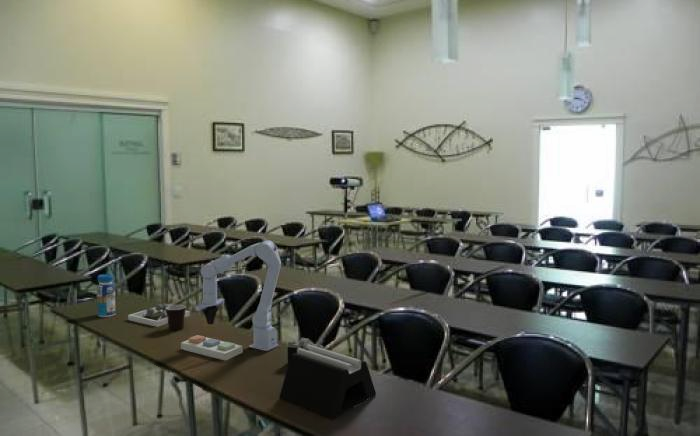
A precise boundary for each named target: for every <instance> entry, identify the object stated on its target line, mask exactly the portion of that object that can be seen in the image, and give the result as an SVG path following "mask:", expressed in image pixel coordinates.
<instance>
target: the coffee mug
mask: <svg viewBox="0 0 700 436" xmlns="http://www.w3.org/2000/svg"><path fill="white" fill-rule="evenodd" d="M186 308H187V307H186V305H183V304H174V305H173V304H172V306H168V307H166V313H167V316H166V318H167V319H168V323H167V324H168V330H169V331H170V332H178V331H182V330H184V329H185V328H184V327H185V310H186ZM183 328H184V329H183Z"/></svg>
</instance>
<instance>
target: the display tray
mask: <svg viewBox="0 0 700 436" xmlns="http://www.w3.org/2000/svg"><path fill="white" fill-rule="evenodd" d="M152 308H153V309H154V308H156V306H155V307H152ZM154 311H155V312H154V313H153V314H156V313H161V311H157V310H156V309H155V310H154ZM162 311H165V310H162ZM146 312H147V309H144V310H141V311H138V312H134V313H130V314H127V320H128V321H131V322H135V323H139V324H144V325H148V326H151V327H152V326H153V327H156V328H157V327H160V326H165V325H167V324H168V319H167V317H165V318H161V319H160V320H158V319H157V320H155V319H150V318H146V317H147V316H146V314H145V315H144V316H143V315H142V313H146ZM165 312H166V311H165ZM190 314H191V312H190V310H186V309H185V317H186V318H188V316H189V317H190V316H191V315H190Z"/></svg>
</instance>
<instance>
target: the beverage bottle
mask: <svg viewBox="0 0 700 436" xmlns="http://www.w3.org/2000/svg"><path fill="white" fill-rule="evenodd" d="M113 281H114V276H113V274H112V273H105V274H104V273H103V274H98V275H97V282H98V283H99V284H98V285H97V287H96V291H97V292H96V297H97V316H98V317H100V318H108V317H110V318H111V317H113V316H115V315H116V313H117V311H116V288H115V285H114V283H113Z"/></svg>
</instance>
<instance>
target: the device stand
mask: <svg viewBox="0 0 700 436" xmlns="http://www.w3.org/2000/svg"><path fill="white" fill-rule="evenodd" d="M307 348H308V349H309V351H308V350H304V349H301V348H298V349H297V354H296V353H293V354H292V355H291V358H290V361H289V365H288V364H287V365H288V366H287V369H286V373H285V376H284V378H283V381H282V386H281V389H280V392H279V393H280V394H279V399H280V400H282V399H283V400H282V401H286V402H287V401H288V403H290V404H293V405H294V404H295V406H297V407H299V406H300V408H302V407H303V408H302V409H304V408H305V409H304V410H307V411H309V410H310V412H311V411H312V413H314V412H315V413H314V414H316V413H317V414H316V415H319V414H320V415H319V416H321V415H322V416H321V417H323V418H326V417H327V418H326V419H328V418H329V420H331V419H332V420H334V419H336V418H337V417H336V416H338V415H340V416H341V415H343V414H345V413H347V412H348V410H349V409H351V408H352V409H354V408H355V407H354V406H356V405H358V404H360V403H362V402H363V403H365V402H367V401H368V400H367V399H369V398H371V397H372V398H374V397H376V396H377V395H376V394H377V392H376V389H375V387H374V383H373V379H372V376H371V373H370V369H369V367H368V364H367V361H364V360H361V359H359V358H354V357H350V356H348V355H344V354H341V353H339V352H335V351H332V350H328V349H325V348H324V349H322V348H319V347H316V346H312V345H309V344H308V345H307ZM375 395H376V396H375ZM373 396H374V397H373ZM372 398H371V399H372ZM366 400H367V401H366ZM369 400H370V399H369ZM364 401H365V402H364ZM363 403H362V404H363ZM360 405H361V404H360ZM358 406H359V405H358ZM353 407H354V408H353ZM356 407H357V406H356ZM352 409H351V410H352ZM346 411H347V412H346ZM349 411H350V410H349ZM344 412H345V413H344ZM342 413H343V414H342ZM335 417H336V418H335ZM338 417H339V416H338ZM333 418H334V419H333Z"/></svg>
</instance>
